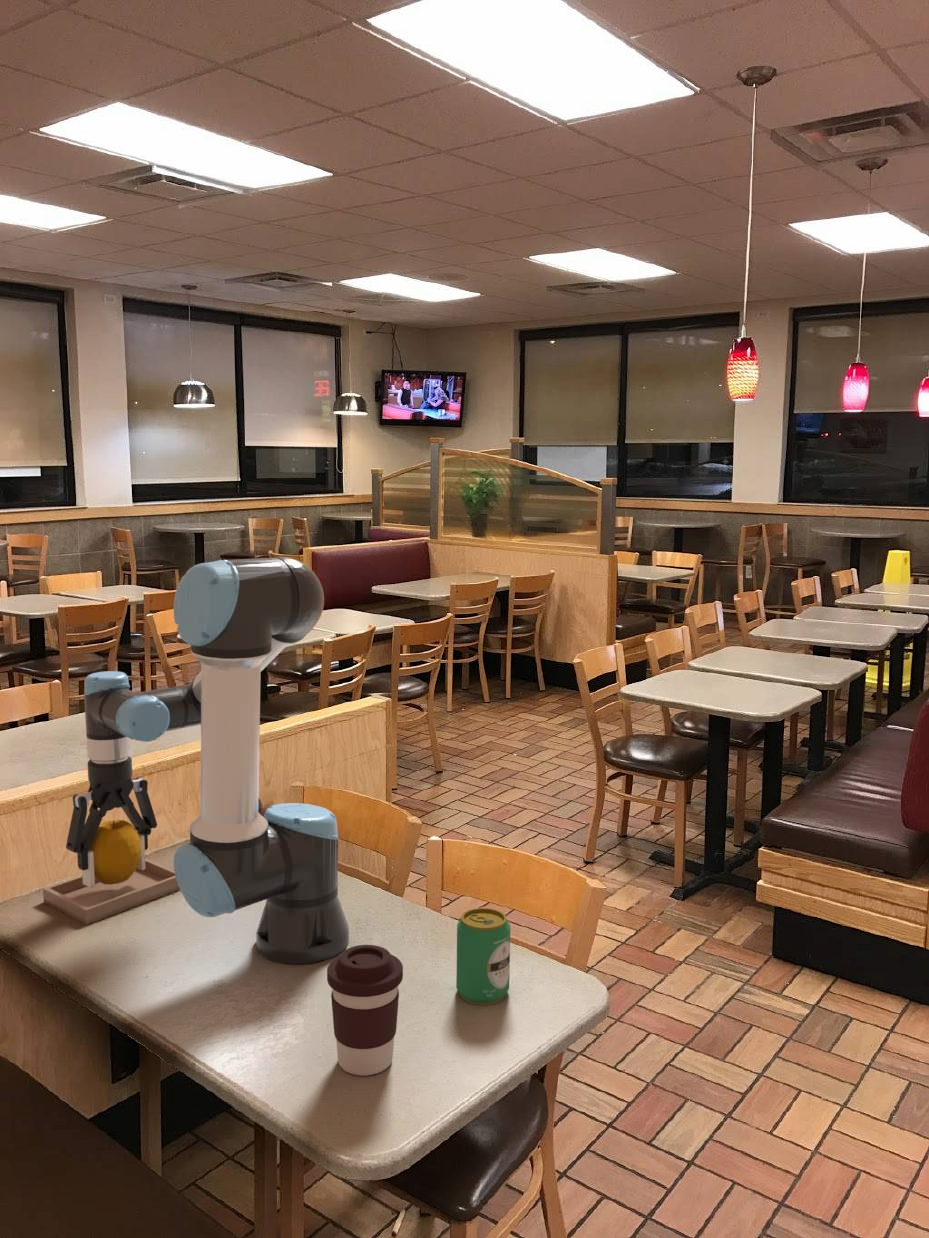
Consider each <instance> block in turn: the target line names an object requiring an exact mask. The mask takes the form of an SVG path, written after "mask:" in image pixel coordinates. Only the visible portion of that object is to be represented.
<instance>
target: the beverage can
mask: <svg viewBox="0 0 929 1238" xmlns="http://www.w3.org/2000/svg"><path fill="white" fill-rule="evenodd" d="M510 961H511V924H510V922H509V920H508V918H507V915H506V914H505V913H504V912H503V911H500V910H498V909H496V908H492V907H491V908H490V907H476V908H471V909H468V910H466V911H463V912H462V914H461V916H460V919H459V921H458V922H457V924H456V978H455V979H456V981H455V982H456V983H455V984H456V985H455V986H456V989H457V991H458V994H459V996H460V998H462V999H463V1001H466V1002H468V1003H470V1004H474V1005H479V1006H486V1005H494V1004H497V1003H499V1002H501V1001H503V1000H504V999H505V997H506V996H507V993H508V992H509V989H510V975H511V974H510V973H511V971H510V967H511V965H510V964H511V962H510Z"/></svg>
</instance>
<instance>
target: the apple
mask: <svg viewBox="0 0 929 1238" xmlns="http://www.w3.org/2000/svg"><path fill="white" fill-rule="evenodd" d="M89 850H90V851H93V854H94V875H95V877H96V878H97V879H98V880H99V881H100V882H101V883H103V884H117V883H122V882H124V881H126V880H128V879H129V878H130V876H131V875H132V874H133V873H134V871H135V870H136V868H137V866H138V864H139V862H140V858H141V853H142V847H141V840H140V837H139V835H138V832H137V831H136V829H135V828H134V826H133V825H132V823H131V822H129V821H126V820H123V819H116V820H108V821H103V822H101V823H100V825H99V827H98V830H97V832H96V835H95V837H94V840H93V842H92V844H91V847H90V849H89Z"/></svg>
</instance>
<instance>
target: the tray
mask: <svg viewBox="0 0 929 1238" xmlns="http://www.w3.org/2000/svg"><path fill="white" fill-rule="evenodd" d="M145 868H146V869H144V870H140V869H138V868H136V870H135V871H134V873H133V874H132V875H131V876H130V878H129V879H128V880H126V881H124V882H122V883H117V884H103V883H101V882H100V881H99V880H98V879H97V878H96V877H95V887H92V888H90V887H88V886H86V885H84V884H83V878H82V874H81V875H79V876H76V877H73V878H69V879H67V880H64V881H61V882H58V883H55V884H52V885H48V886H47V887H43V888H42V895H43V898H42V899H43V903H45V904H46V905H48V906H50V907H52V908H53V909H56V910H57V911H60V912H62V913H64V914H66V915H67V916H69V917H72V918H73V919H75V920H77V921H79V922H80V923H83V924H84V925H89V924H92V923H94V922H97V921H101V920H102V919H105V918H108V917H111V916H114V915H116V914H119V913H121V912H123V911H127V910H129V909H132V908H134V907H137V906H141V905H143V904H146V903H148V902H150V901H153V900H155V899H156V900H157V899H158V898H161V897H163V896H166V895H169V894H171V893H174V892H177V891H181V890H180V888H179V886H178V883H177V880H176V876H175V871H174V869H172V868H170V867H167V866H165V865H163V864H161V863H158V862H155V861H153V860H150V859H149V858H146V857H145ZM94 876H95V875H94Z"/></svg>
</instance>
